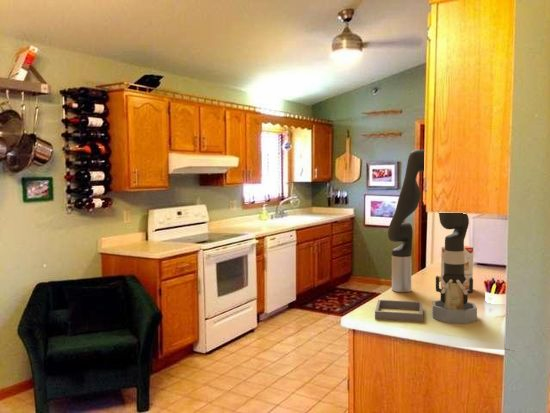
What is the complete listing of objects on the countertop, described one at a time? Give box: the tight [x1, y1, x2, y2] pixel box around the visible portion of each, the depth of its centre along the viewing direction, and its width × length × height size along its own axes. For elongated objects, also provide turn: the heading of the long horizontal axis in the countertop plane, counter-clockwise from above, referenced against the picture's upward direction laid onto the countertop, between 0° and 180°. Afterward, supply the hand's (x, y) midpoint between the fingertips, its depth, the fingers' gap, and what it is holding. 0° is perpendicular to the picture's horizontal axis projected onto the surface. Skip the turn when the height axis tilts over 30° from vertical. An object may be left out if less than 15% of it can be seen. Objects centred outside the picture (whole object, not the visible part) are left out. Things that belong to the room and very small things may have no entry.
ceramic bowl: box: [431, 299, 478, 325], centre depth 187 cm, size 16×16×5 cm
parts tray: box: [374, 299, 424, 323], centre depth 193 cm, size 18×18×3 cm
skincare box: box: [444, 283, 464, 310], centre depth 187 cm, size 6×4×12 cm
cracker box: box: [440, 245, 474, 290], centre depth 231 cm, size 14×6×21 cm, turn 101°
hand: (453, 302), depth 187 cm, fingers closed on skincare box, 7 cm apart
